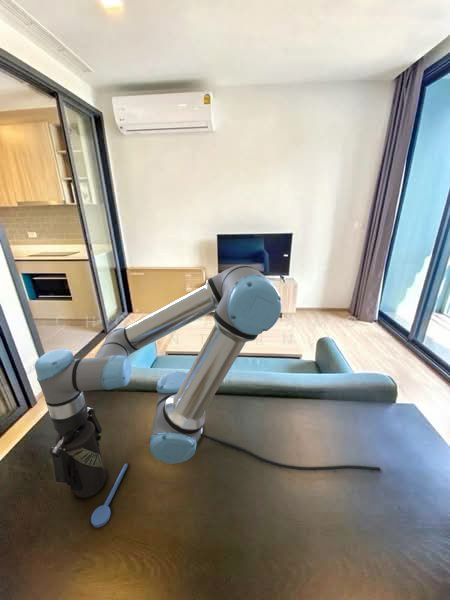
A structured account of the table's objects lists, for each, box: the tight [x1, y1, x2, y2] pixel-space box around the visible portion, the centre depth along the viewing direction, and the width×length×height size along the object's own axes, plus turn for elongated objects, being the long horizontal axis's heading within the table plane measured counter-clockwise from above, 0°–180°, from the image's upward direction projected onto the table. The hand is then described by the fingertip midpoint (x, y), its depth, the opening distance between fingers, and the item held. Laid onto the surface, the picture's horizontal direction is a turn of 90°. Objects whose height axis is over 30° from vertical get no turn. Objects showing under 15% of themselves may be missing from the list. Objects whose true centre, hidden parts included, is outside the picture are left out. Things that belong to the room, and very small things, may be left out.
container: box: [54, 420, 107, 499], centre depth 68 cm, size 9×9×20 cm
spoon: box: [90, 463, 129, 528], centre depth 68 cm, size 16×4×1 cm, turn 173°
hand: (87, 472), depth 70 cm, fingers closed on container, 8 cm apart
